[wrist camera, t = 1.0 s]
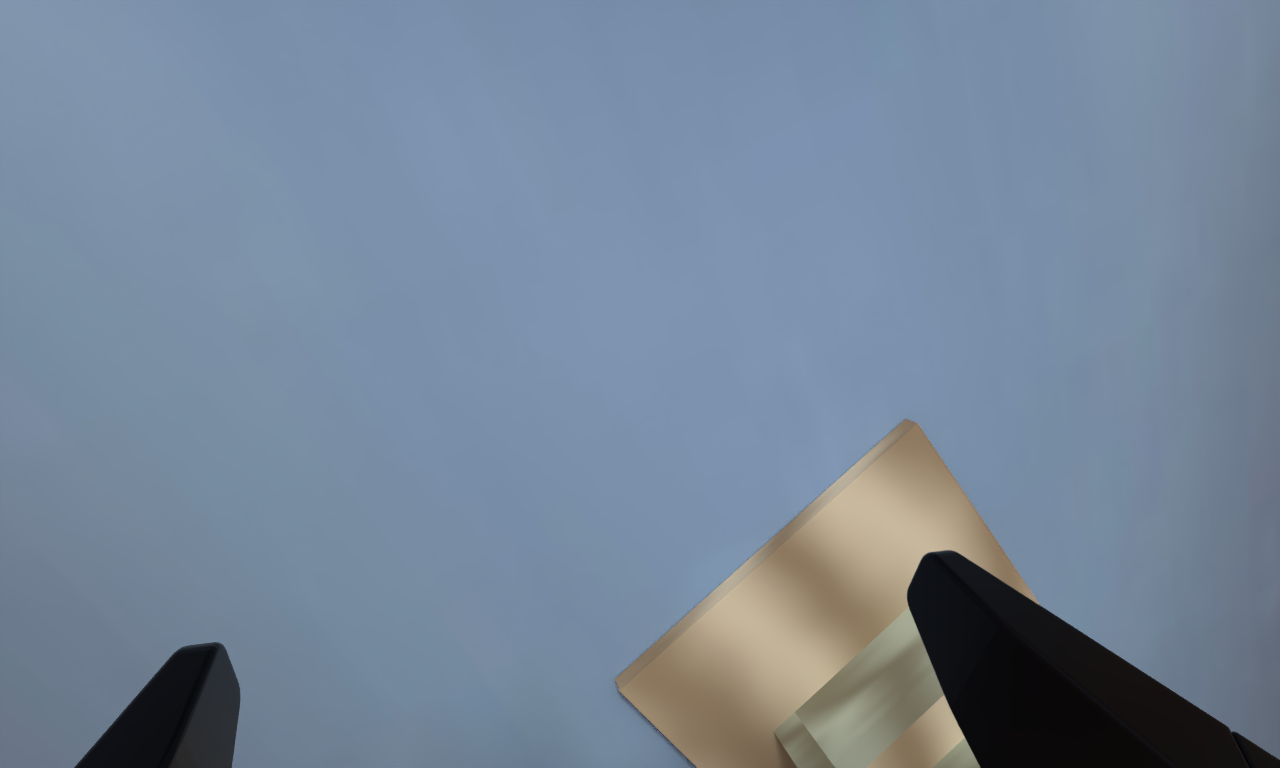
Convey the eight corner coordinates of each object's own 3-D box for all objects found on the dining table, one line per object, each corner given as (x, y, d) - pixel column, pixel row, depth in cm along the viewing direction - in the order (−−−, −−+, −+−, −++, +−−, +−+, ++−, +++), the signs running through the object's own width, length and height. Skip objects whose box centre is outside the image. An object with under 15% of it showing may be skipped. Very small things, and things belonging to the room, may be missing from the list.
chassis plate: (824, 885, 33) (871, 969, 29) (614, 678, 28) (639, 746, 24) (1066, 655, 34) (1143, 707, 30) (905, 418, 29) (972, 444, 25)
